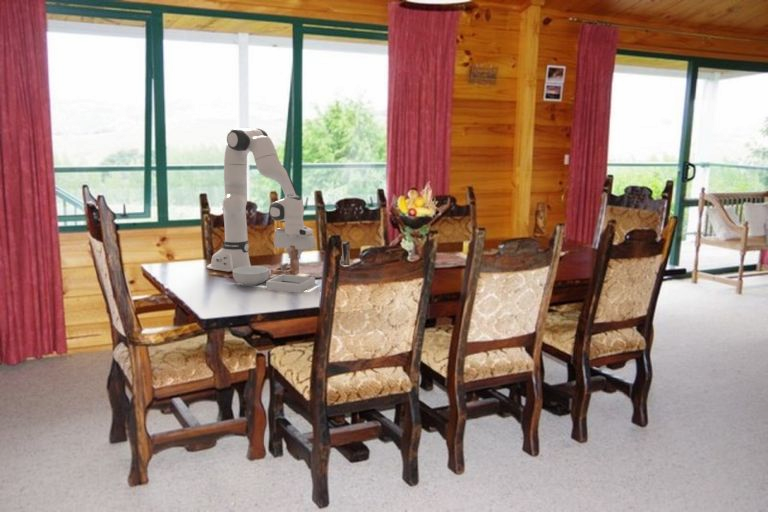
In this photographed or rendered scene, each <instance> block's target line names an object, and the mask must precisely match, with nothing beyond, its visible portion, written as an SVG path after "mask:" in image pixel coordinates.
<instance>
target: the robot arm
mask: <svg viewBox="0 0 768 512" xmlns="http://www.w3.org/2000/svg"><path fill="white" fill-rule="evenodd" d="M226 142H227V144H226V146H225V152H224V158H223V159H224V160H223V161H224V162H223V164H224V166H223V183H224V198H223V200H222V214H223V223H224V240H223V241H222V242H221V243H220V245H221V248H220V249H219V250H218V251H216V252H215V253H214V254H213V255H212V256H211V261H210V263H209V264H207V266H206V269H210V270H214V271H222V272H233V269H235V268H238V267H244V266H252V265H251V262H250V260H251V259H250V256H249V239H248V223H247V213H246V212H247V211H246V210H247V209H246V208H247V204H248V181H247V179H248V177H247V175H248V171H247V170H248V155H249V153H250V152H251V153H252V155H253V158H254V162H255V166H256V170H257V171H258V172H259V174H260V175H262V176H263V177H265V178H267V179H269V180H270V179H271V180H273V181H274V182H277V183H278V184H279V185H280V187H281V189H282V191H283V194H284V196H285V197H283V198H282V199H279V200H275V201H273V202H271V204H270V205H269V209H268V211H269V212H268V213H269V216H270V217H271V219H272V220H273V221H276V222H282V221H284V228H276V229H275V230H274V239H273V240H274V242H273V246H274V247H275V248H276V249H285V250H286V251H285V252H286V253H287V254H288V258H289V259H290V246H295V249H297V250H298V252H299V253H298V255H296V259H299V260H300V259H301V255H302V253H303V251H314V250H315V248H316V239H315V236H314V233H315V232H314V229H313V228H311V227H308V226H306V225H305V223H304V222H305V221H304V215H305V214H304V213H305V206H304V201H303V197H302V196H300V195H298V193H297V192H298V191H297V190H296V188H295V185H294V183H293V180H292V178H291V176H290V174H289V172H288V170H287V169H286V168H285V167H284V166H283V165H282V163H281V161H280V158H279V156H278V153H277V150H276V147H275V144H274V143H273V140H272V139H271V137H269V136H268V133H267V132H266V131H265V130H264V129H260V128H253V127H246V128H243V127H241V128H234V129H231V130H229V131H228V133H227V136H226Z"/></svg>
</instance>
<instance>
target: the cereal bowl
mask: <svg viewBox="0 0 768 512" xmlns="http://www.w3.org/2000/svg"><path fill="white" fill-rule="evenodd" d="M269 277H270V269H269V267H267V266H264V265H251V266H244V267H238V268H235V269H233V271H232V278H233V279H234V281H235V282H236V283H238V284H241V285H243V286H244V287H256V286H258V285H260V284H262V283H264V282H266V281H268V280H269Z"/></svg>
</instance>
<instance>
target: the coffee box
mask: <svg viewBox="0 0 768 512" xmlns="http://www.w3.org/2000/svg"><path fill="white" fill-rule="evenodd" d="M341 241H342V256H341V264H342V265H351V264H350V262H351V261H350V251H351V250H350V241H349V240H348V241H344V240H341Z"/></svg>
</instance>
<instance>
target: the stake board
mask: <svg viewBox="0 0 768 512" xmlns="http://www.w3.org/2000/svg"><path fill="white" fill-rule="evenodd" d="M280 266H281V270H284V271H287V267H288V266H289V264H288V262H285V263H282V264H280ZM277 276H279V275H276V274H272V275H271V276H269V277H268V279H269V278H271V279H272V278H275V277H277ZM294 276H305V277H310V276H311V274H309V273H300V272H299V274H296V275H294Z"/></svg>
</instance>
